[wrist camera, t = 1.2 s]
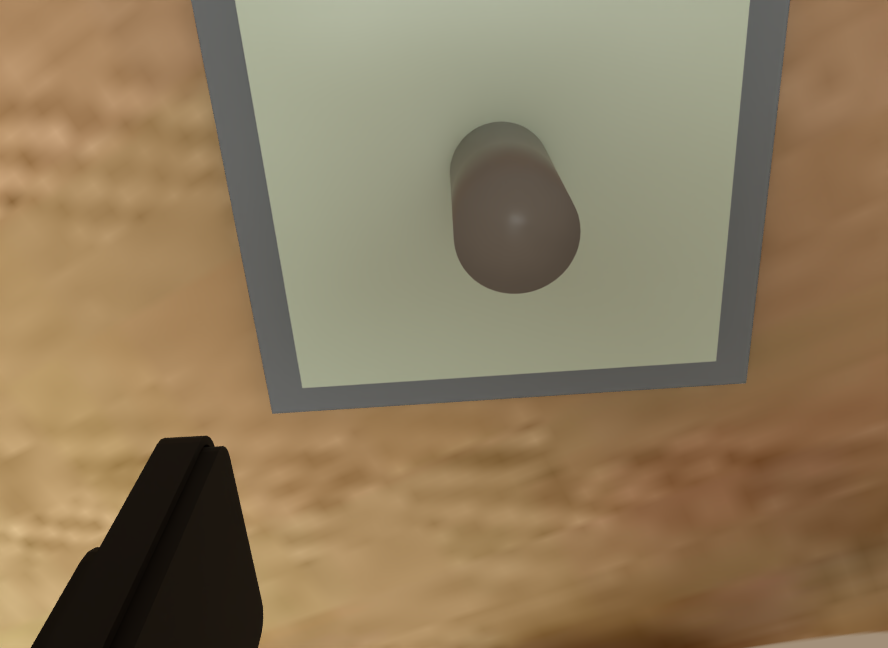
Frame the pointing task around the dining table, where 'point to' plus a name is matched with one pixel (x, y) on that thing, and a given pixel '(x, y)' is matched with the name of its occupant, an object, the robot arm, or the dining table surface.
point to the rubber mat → (287, 394)
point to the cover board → (399, 209)
